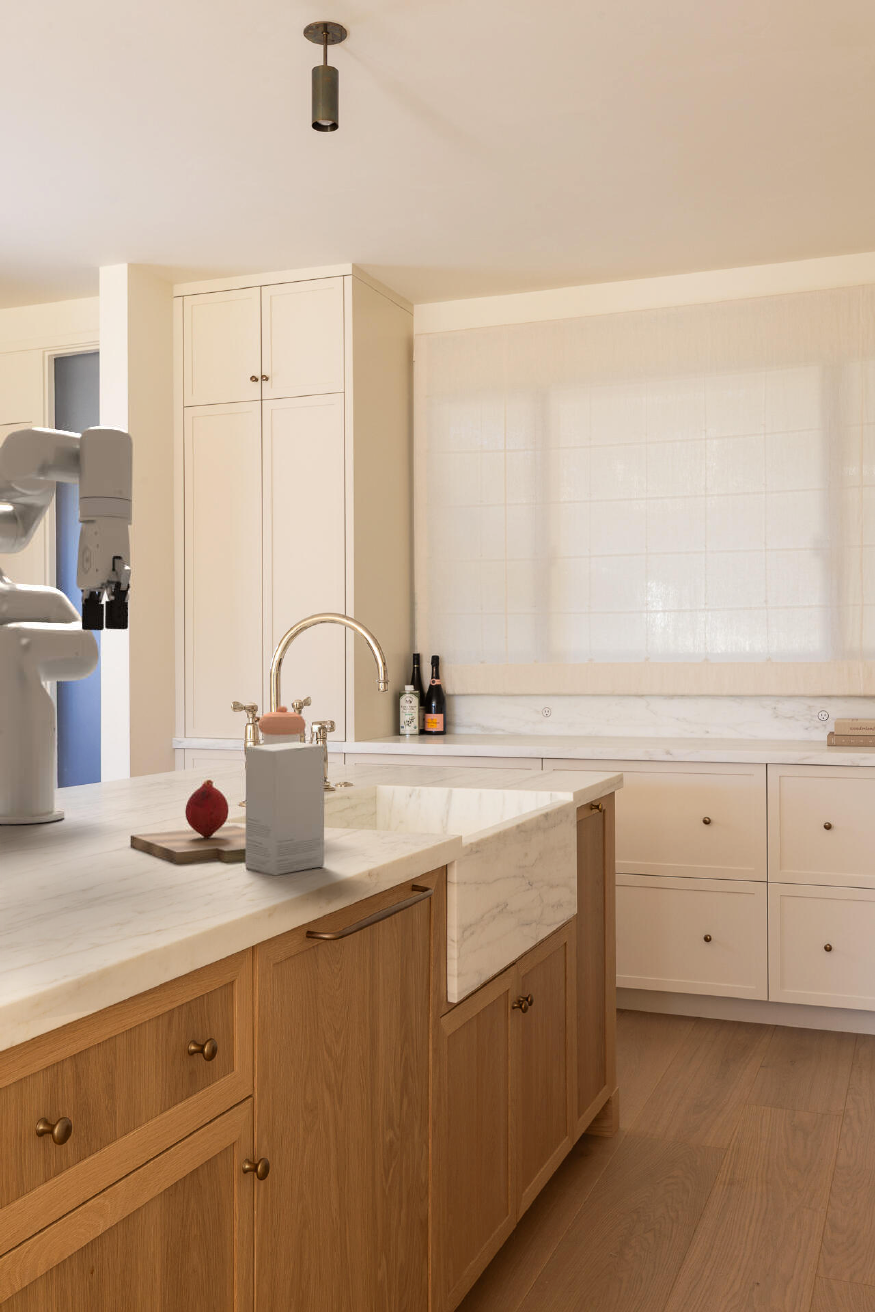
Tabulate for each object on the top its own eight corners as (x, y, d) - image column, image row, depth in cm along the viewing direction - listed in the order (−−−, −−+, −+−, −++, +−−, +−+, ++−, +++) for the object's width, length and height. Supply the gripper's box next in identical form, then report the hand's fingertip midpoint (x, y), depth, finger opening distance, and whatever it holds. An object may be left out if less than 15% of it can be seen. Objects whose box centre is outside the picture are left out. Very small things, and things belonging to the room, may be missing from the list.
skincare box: (295, 860, 143) (297, 741, 143) (327, 868, 139) (328, 744, 139) (242, 869, 137) (243, 744, 138) (273, 876, 133) (274, 748, 133)
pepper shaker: (300, 830, 168) (301, 705, 168) (309, 837, 161) (311, 707, 161) (252, 832, 166) (253, 705, 166) (260, 840, 159) (261, 707, 159)
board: (130, 846, 153) (130, 835, 153) (235, 835, 162) (235, 825, 162) (185, 867, 138) (185, 855, 138) (296, 854, 148) (297, 843, 148)
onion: (218, 842, 148) (218, 782, 148) (178, 840, 149) (178, 781, 149) (234, 835, 154) (234, 778, 154) (195, 833, 155) (196, 776, 155)
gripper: (60, 516, 166) (59, 629, 166) (101, 504, 153) (100, 628, 153) (109, 520, 171) (108, 630, 171) (152, 509, 157) (151, 629, 157)
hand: (104, 629), depth 162 cm, fingers open, 9 cm apart
